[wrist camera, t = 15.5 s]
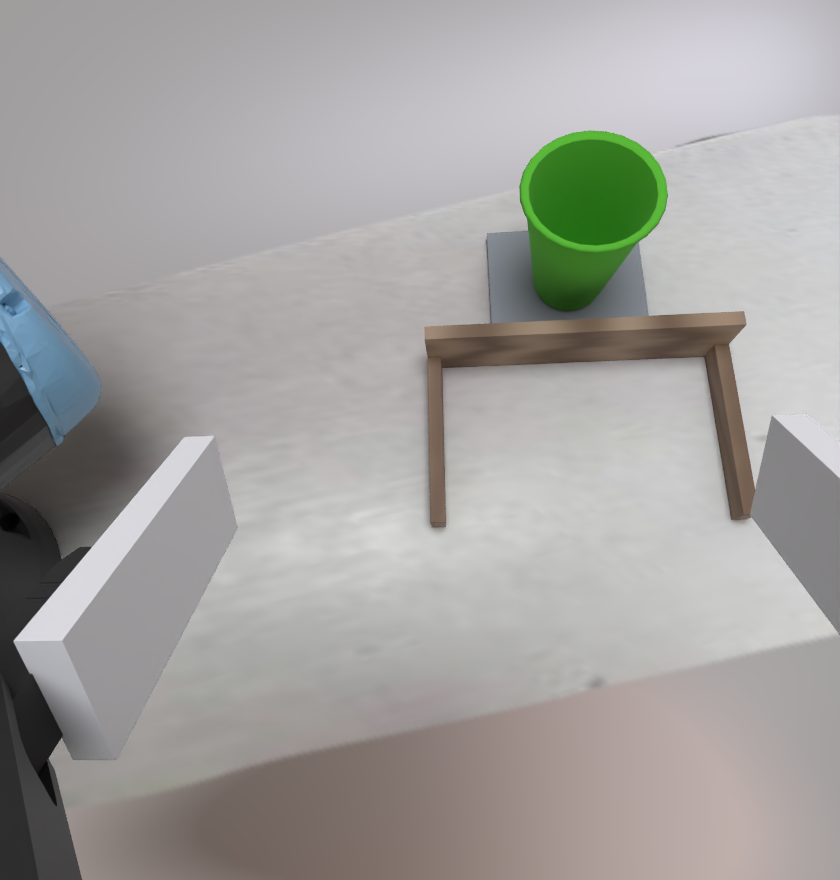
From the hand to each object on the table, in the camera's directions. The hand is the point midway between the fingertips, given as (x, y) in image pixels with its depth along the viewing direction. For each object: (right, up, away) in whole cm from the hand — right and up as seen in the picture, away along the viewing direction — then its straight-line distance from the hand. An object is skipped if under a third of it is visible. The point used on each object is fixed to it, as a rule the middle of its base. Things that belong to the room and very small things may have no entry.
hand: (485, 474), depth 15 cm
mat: (+10, +13, +34) cm, 38 cm away
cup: (+10, +13, +34) cm, 38 cm away
